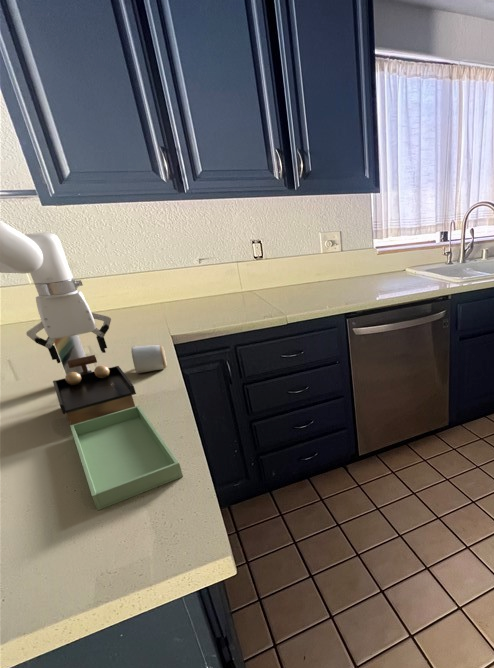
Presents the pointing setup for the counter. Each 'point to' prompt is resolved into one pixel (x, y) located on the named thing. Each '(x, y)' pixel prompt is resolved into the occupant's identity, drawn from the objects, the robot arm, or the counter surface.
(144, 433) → the tray
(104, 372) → the ball
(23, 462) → the counter surface
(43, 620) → the counter surface
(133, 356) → the ceramic mug
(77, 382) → the ball
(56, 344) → the lotion bottle
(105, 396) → the pan
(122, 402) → the stand
